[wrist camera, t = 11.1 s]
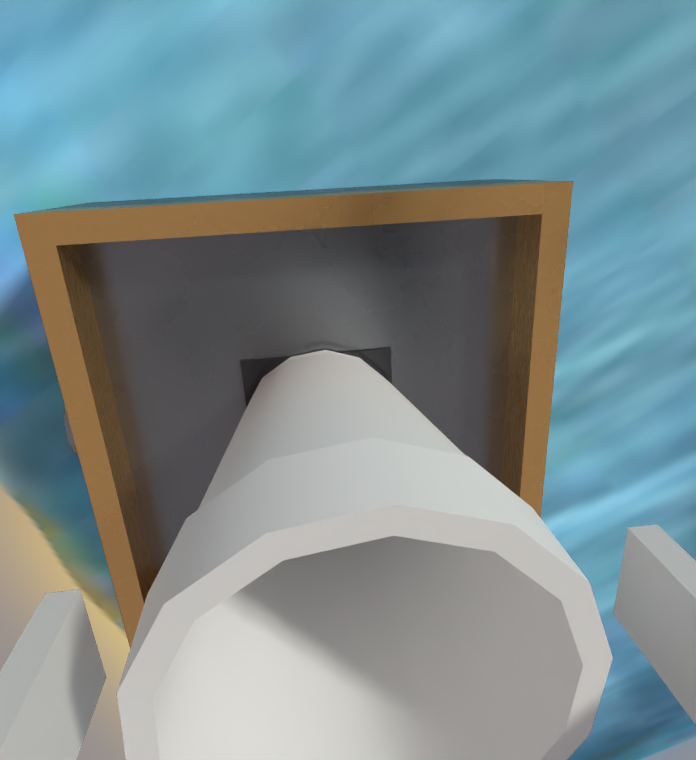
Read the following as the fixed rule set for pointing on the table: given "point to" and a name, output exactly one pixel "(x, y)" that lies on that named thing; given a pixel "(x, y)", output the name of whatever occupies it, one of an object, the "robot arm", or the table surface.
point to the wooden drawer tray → (291, 330)
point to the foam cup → (360, 597)
